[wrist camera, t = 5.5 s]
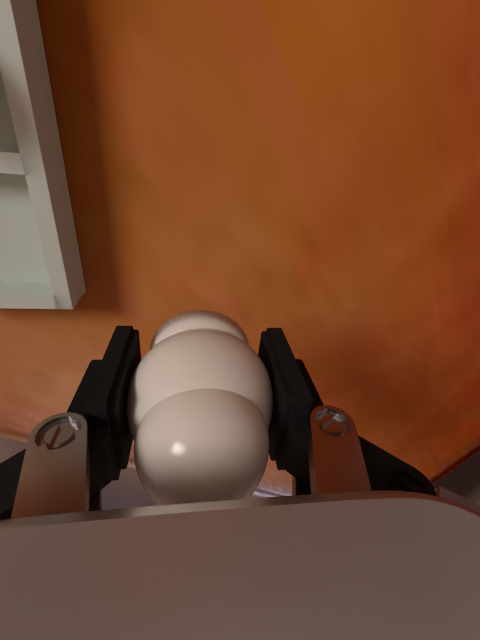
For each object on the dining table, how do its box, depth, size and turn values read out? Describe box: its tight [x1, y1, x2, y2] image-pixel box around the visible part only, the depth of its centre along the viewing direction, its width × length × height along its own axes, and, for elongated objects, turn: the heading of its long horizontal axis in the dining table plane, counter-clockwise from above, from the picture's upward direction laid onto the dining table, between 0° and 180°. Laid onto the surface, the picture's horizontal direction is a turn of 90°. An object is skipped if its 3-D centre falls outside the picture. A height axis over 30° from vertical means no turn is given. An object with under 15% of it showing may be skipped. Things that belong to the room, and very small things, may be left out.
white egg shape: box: [126, 310, 274, 506], centre depth 10 cm, size 5×5×6 cm
